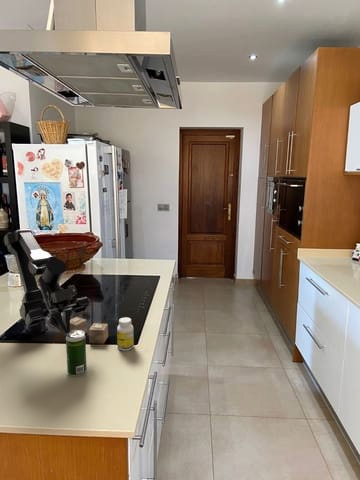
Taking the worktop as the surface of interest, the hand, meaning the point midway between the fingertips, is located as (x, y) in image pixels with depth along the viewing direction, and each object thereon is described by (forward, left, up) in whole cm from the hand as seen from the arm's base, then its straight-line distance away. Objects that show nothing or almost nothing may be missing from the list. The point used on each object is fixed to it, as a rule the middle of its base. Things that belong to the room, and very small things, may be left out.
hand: (68, 336), depth 100 cm
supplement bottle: (+10, +16, -10) cm, 21 cm away
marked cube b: (-11, +18, -9) cm, 23 cm away
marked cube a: (-1, +17, -9) cm, 19 cm away
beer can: (+4, -2, -10) cm, 11 cm away
